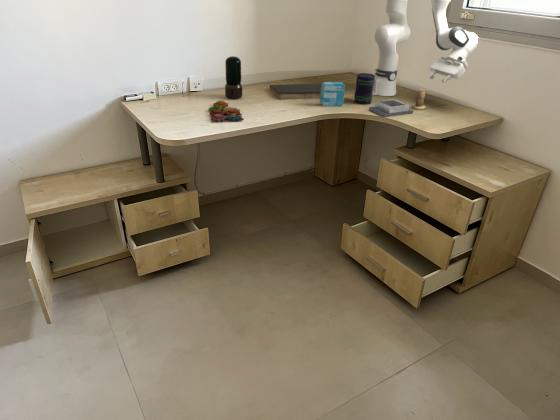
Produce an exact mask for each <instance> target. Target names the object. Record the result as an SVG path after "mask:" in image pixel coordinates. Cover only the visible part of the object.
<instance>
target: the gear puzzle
mask: <svg viewBox="0 0 560 420" xmlns="http://www.w3.org/2000/svg"><path fill="white" fill-rule="evenodd" d="M212 105H213V106H211V107H209V108H208V112H209V116H210V120H211V123H212V124H215V123H216V124H217V123H222V124H223V123H233V122H237V123H242V122H243V121H244V120H245V119H244V117H243V114H242V113H241V109H238V108H237V107H231V106H229V103H228V102H225V100H218V101H216V102H214V103H213V104H212Z"/></svg>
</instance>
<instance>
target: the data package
mask: <svg viewBox="0 0 560 420" xmlns="http://www.w3.org/2000/svg"><path fill="white" fill-rule="evenodd" d="M345 90H346V85H345V84H344V83H343V82H342V81H323V82H322V85H321V96H320V98H319V103H320V104H321V106H323V107H342V106H343V105H344V102H345V101H344V99H345V92H346V91H345Z"/></svg>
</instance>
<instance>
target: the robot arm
mask: <svg viewBox="0 0 560 420" xmlns="http://www.w3.org/2000/svg"><path fill="white" fill-rule="evenodd" d="M451 1H452V0H431V12H432V17H433V23H434V27H435V34H436V36H435V43H436V47H437V48H438V49H439V50H440V51H449V50H450V49H452V50H451V51H450V53H448V54H447V56H446V57H443V56H441V57H439V58H437V59H436V60H435V61H433V63H431V64H430V66H429V70H430V72H431V73H430V75H429V79H430V80H434V79H435V75H436V74H438V75H441V76H445V78H443V79H442V80H441V82H442V83H443V84H446V83H447V82H448V81H450V80H452V79H455V80H458V79H460V78H461V77H462V76H463V75H464V74H465V72H466V70H467V69H469V64H468V63H467V61H466V60H467V58H468V57H470V56H472V54H473V53H474V51H475V50H476V49H477V47H478V46H477V44H478V38H479V36H478V35H477V34H476V33H475V32H473V31H468V30H466V29H464V28H463V27H461V26H460V25H458V26H453V27H451V28H449V26H448V25H449V24H448V21H447V15H446V12H447V8H448V6H449V4H450V2H451ZM408 2H409V0H386V7H385V12H386V14H387V17H388V20H389V23H386V24H383V25H381V26H379V27H377V29H375V32H374V41H375V43H376V44H377V45H378V51H379V54H378V55H379V56H378V57H379V58H378V66H377V68H376V69H374V72H375V73H374V75H375V80H374V86H373V91H372V93H373V94H372V96H381V97H392V96H396V95H397V89H396V88H397V76H398V65H399V58H400V57H399V54H398V53H397V45H399V44H402V43H404V42H406V41H407V40H408V39H409V38H410V36H411V28H410V26H409V24H408V19H407V18H408V16H407V11H408V10H407V9H408V4H409V3H408ZM478 45H479V44H478Z"/></svg>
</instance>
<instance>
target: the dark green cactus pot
mask: <svg viewBox="0 0 560 420" xmlns="http://www.w3.org/2000/svg"><path fill="white" fill-rule="evenodd" d="M224 65H225V84H224V85H225V86H224V93H225V97H226V98H227V99H229V100H239V99H241V98H242V97H243V84H242V60H241V59H240V58H239V57H238V56H236V55H235V56H234V55H233V56H228V57H227V58H226V59H225V63H224Z"/></svg>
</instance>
